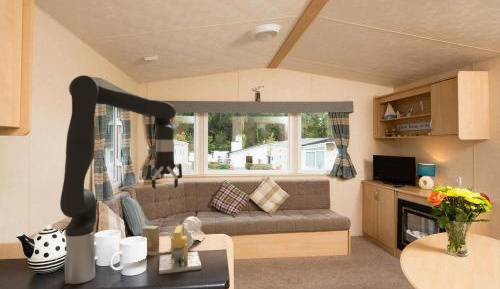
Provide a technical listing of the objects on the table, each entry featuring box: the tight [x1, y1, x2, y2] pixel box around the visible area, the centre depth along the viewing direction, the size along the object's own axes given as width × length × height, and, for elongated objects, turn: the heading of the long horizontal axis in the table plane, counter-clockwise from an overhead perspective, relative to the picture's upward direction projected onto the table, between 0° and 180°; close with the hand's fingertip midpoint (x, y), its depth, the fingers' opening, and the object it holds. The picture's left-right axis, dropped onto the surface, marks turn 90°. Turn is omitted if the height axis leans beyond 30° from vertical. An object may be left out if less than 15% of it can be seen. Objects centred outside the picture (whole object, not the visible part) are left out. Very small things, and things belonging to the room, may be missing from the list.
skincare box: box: [142, 225, 160, 256], centre depth 140 cm, size 6×4×12 cm
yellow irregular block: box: [170, 223, 187, 248], centre depth 128 cm, size 12×6×7 cm, turn 6°
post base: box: [158, 244, 202, 275], centre depth 128 cm, size 16×16×10 cm
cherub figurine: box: [168, 216, 206, 248], centre depth 155 cm, size 13×12×20 cm
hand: (165, 188), depth 133 cm, fingers open, 8 cm apart
